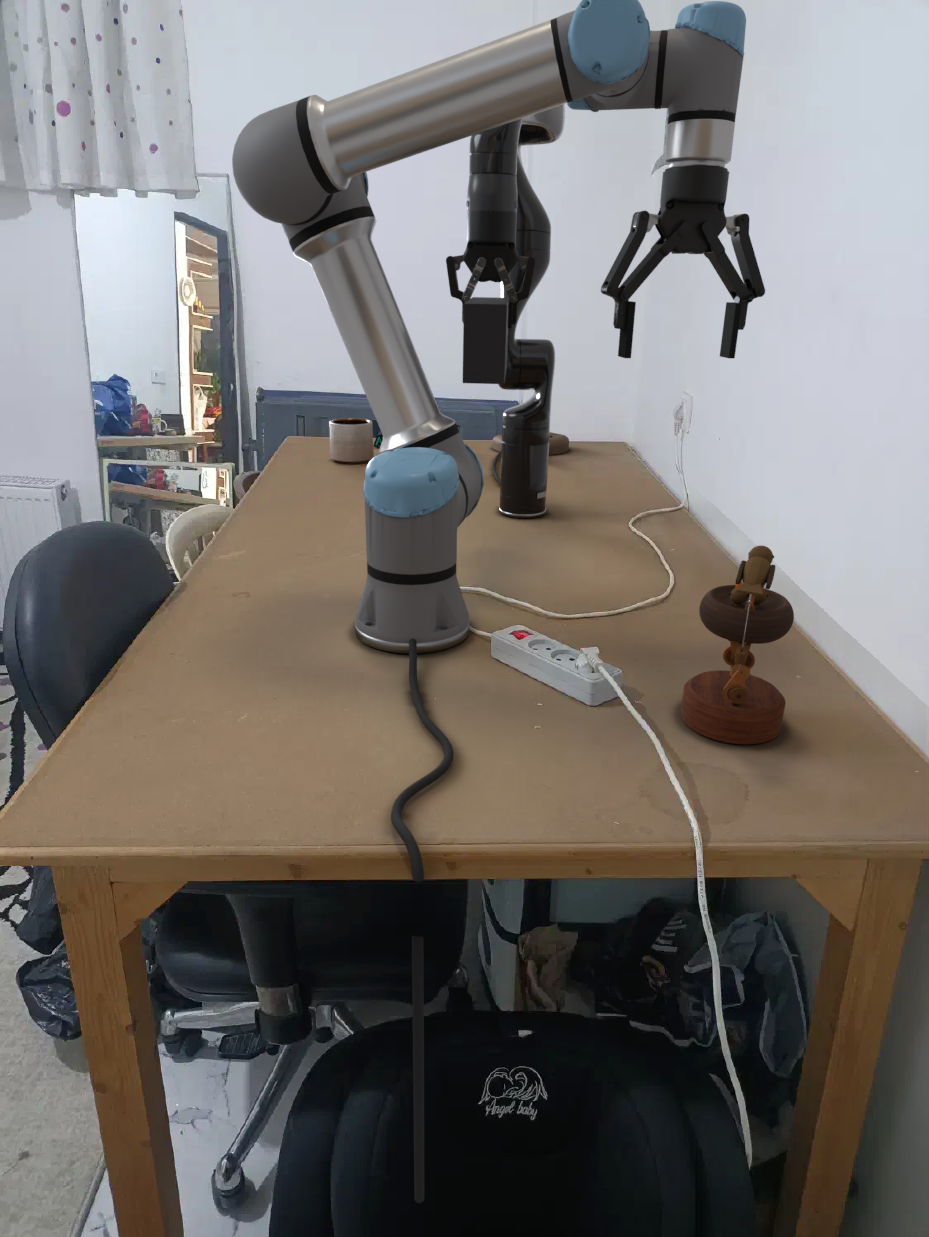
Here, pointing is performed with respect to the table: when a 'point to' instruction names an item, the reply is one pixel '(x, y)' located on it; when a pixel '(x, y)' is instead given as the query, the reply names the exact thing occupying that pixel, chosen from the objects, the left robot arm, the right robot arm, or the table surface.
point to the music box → (740, 658)
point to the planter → (351, 440)
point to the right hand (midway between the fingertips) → (489, 327)
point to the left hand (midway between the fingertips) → (676, 357)
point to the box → (485, 340)
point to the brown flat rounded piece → (556, 443)
